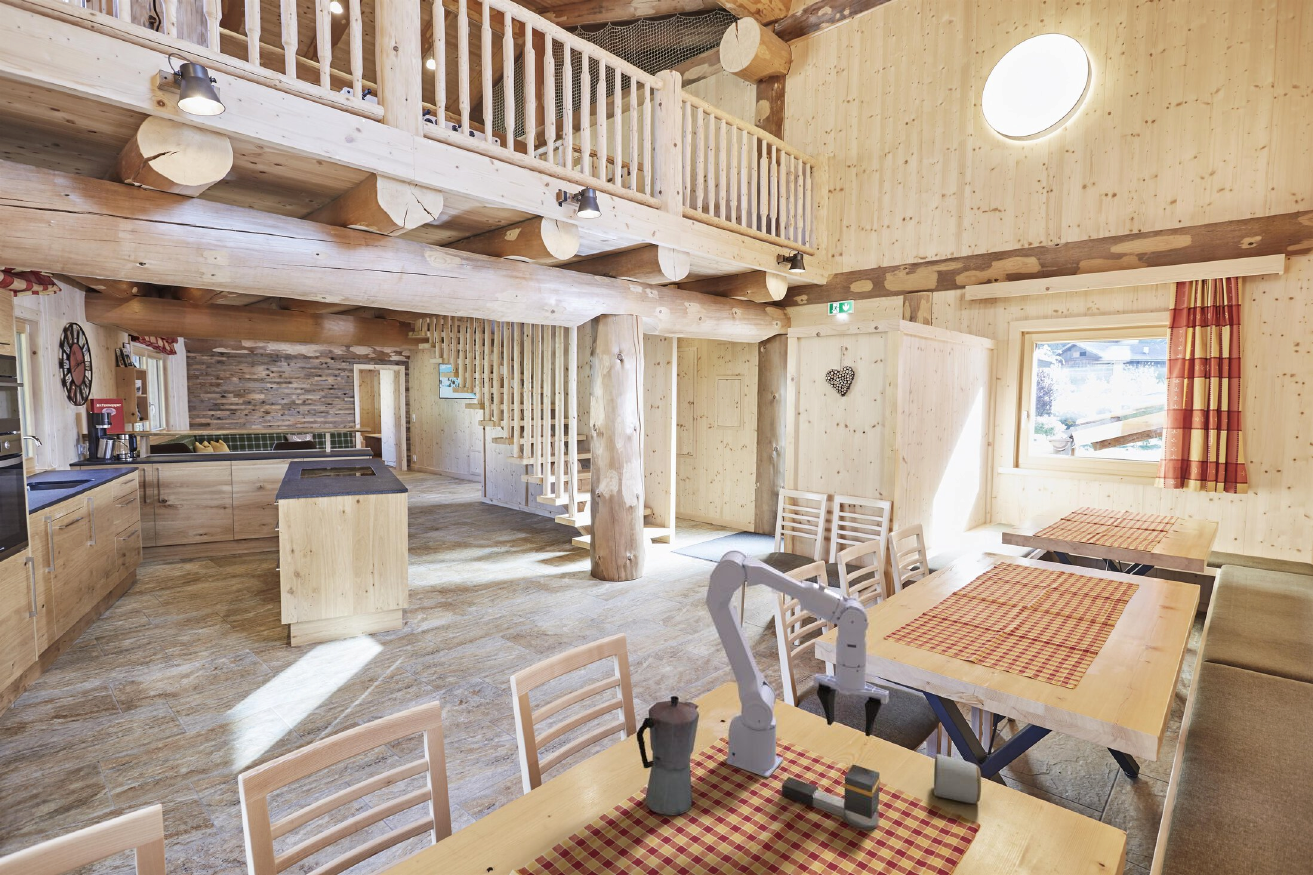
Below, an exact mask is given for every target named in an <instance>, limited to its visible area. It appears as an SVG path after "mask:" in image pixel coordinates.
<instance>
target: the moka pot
mask: <svg viewBox="0 0 1313 875" xmlns="http://www.w3.org/2000/svg"><path fill="white" fill-rule="evenodd" d="M679 700H680V699H679V697H678V696H676V695H675V696H674V695H673V696H670V700H665V701H657V702H655V703H654V704H653V705H652V706H651V707H650V708H649V709H648V717H645V718H644V719H643V721H642V725H641V726H640V727H639V728H638V730H637V732H636V742H637V745H638V748H639V753H640V757H641V762H642V765H643V768H644V769H650V773H649V779H648V782H647V789H646V793H645V799H644V800H645V804H646V806H647V807H648V808H649V809H650V811H652V812H654V813H657V814H659V815H665V816H676V815H682V814H684V813H686V812H687V811H689V810H690V809H691V807H692V804H693V790H692V779H691V778H692V777H691V776H692V775H691V755H692V754H693V752H694V746H695V743H696V742H695V741H696V737H697V736H696V735H697V730H698V725H699V724H698V723H699V718H700V713H699V711H698V710H697V709H698V708H699V705H698V704H695V703H694V702H690V701H685V702H684V701H683V702H682V701H679ZM647 729H649V740H650V749H651V751H652V754H651V755H652V756H651V757H652V758H651V760H650V761H649V760H648V757H647V752H646V751H647V750H646V743H645V741H646V740H645V739H644V733H645V731H646V730H647Z"/></svg>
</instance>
